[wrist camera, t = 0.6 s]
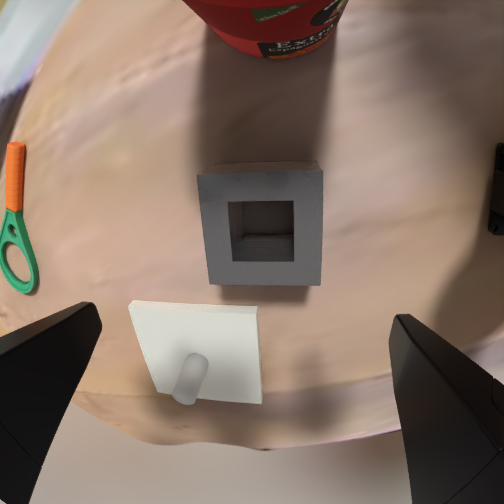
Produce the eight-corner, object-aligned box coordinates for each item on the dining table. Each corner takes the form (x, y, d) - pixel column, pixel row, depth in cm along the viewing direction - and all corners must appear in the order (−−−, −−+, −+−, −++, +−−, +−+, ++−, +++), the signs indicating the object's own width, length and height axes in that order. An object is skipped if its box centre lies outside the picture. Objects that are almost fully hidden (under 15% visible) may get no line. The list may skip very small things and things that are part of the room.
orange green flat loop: (43, 297, 26) (33, 305, 24) (7, 275, 26) (-3, 282, 24) (45, 148, 19) (31, 151, 18) (5, 137, 19) (-8, 140, 18)
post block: (257, 306, 22) (247, 352, 17) (262, 395, 26) (256, 440, 21) (133, 300, 23) (103, 337, 19) (160, 385, 27) (142, 423, 23)
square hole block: (316, 161, 17) (322, 171, 14) (316, 254, 20) (320, 285, 16) (216, 164, 18) (196, 175, 15) (224, 254, 21) (209, 284, 17)
